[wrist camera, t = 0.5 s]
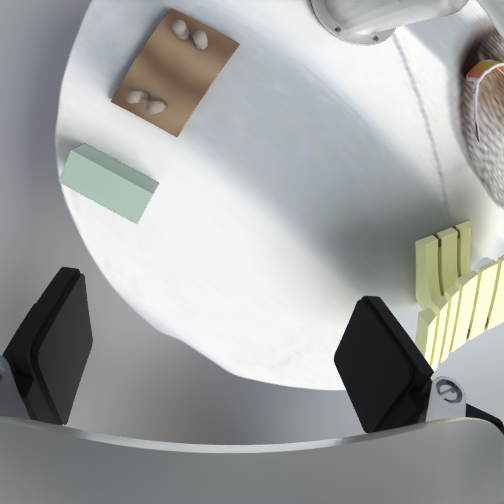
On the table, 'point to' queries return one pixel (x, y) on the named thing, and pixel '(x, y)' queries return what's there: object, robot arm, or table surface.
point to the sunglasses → (476, 76)
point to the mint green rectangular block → (108, 182)
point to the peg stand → (174, 71)
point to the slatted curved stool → (454, 293)
